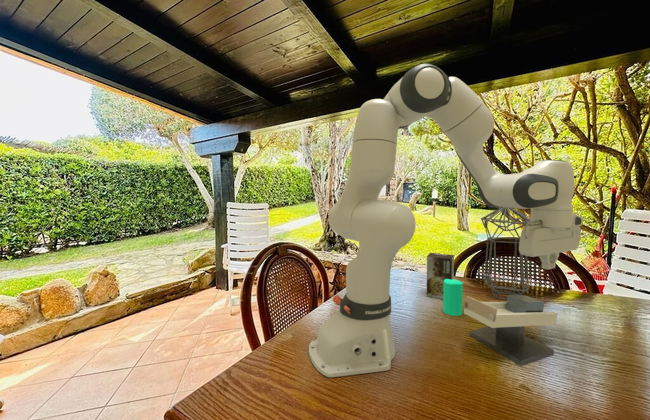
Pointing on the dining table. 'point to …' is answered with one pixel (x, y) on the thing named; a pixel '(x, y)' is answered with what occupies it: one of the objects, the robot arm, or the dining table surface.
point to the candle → (452, 297)
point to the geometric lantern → (485, 222)
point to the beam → (505, 315)
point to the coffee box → (438, 273)
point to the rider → (523, 304)
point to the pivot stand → (512, 343)
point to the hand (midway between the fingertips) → (548, 268)
